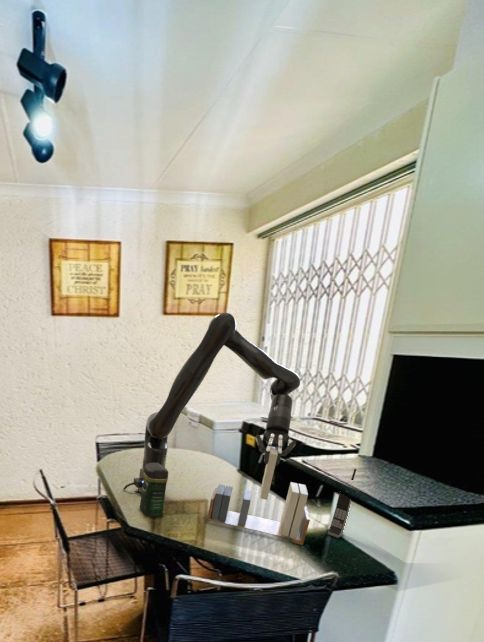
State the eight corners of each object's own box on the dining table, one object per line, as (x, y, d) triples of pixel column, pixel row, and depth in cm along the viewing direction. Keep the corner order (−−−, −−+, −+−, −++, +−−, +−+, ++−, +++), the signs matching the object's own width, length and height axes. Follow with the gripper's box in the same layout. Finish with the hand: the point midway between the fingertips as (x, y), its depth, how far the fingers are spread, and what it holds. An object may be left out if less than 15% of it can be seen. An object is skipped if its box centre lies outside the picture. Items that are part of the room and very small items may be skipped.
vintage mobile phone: (327, 534, 139) (346, 468, 131) (331, 530, 142) (351, 466, 134) (338, 538, 137) (359, 472, 128) (342, 534, 140) (363, 469, 132)
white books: (281, 534, 132) (292, 491, 127) (280, 523, 141) (290, 482, 136) (296, 538, 131) (308, 494, 126) (294, 526, 140) (305, 484, 135)
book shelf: (206, 522, 140) (211, 498, 137) (210, 510, 150) (215, 487, 147) (302, 545, 130) (310, 519, 127) (300, 530, 141) (306, 506, 137)
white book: (260, 498, 132) (270, 453, 126) (260, 488, 140) (270, 446, 135) (267, 499, 131) (277, 454, 126) (267, 490, 140) (277, 447, 134)
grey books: (211, 518, 140) (215, 493, 136) (214, 508, 149) (218, 484, 145) (245, 526, 136) (250, 500, 133) (246, 515, 145) (251, 490, 142)
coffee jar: (165, 518, 140) (172, 469, 134) (144, 518, 139) (150, 469, 132) (156, 506, 149) (162, 460, 143) (137, 507, 147) (142, 460, 141)
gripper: (259, 412, 136) (251, 454, 129) (302, 418, 131) (296, 462, 124) (256, 424, 142) (248, 465, 135) (297, 430, 138) (291, 473, 131)
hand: (271, 463), depth 130 cm, fingers closed on white book, 2 cm apart
